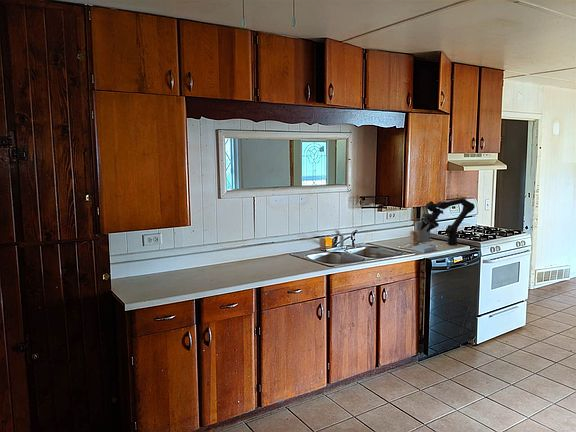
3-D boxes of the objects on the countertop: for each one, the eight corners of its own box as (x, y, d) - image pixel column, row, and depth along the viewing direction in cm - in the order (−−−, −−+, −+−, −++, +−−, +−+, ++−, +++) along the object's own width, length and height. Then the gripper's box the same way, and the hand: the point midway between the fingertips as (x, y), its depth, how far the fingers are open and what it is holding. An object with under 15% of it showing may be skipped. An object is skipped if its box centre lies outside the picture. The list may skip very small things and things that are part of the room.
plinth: (423, 248, 375) (423, 244, 374) (435, 250, 365) (435, 246, 364) (412, 250, 369) (412, 246, 368) (424, 252, 359) (424, 248, 358)
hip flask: (416, 242, 395) (416, 219, 393) (413, 242, 399) (413, 218, 396) (430, 240, 402) (431, 217, 399) (427, 240, 406) (427, 217, 403)
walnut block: (416, 246, 382) (416, 230, 380) (418, 247, 377) (419, 231, 375) (410, 246, 381) (410, 231, 379) (413, 248, 376) (413, 232, 374)
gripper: (421, 207, 384) (410, 223, 384) (434, 210, 366) (422, 226, 366) (431, 215, 387) (420, 231, 387) (443, 218, 369) (432, 234, 369)
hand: (423, 230), depth 377 cm, fingers open, 9 cm apart
